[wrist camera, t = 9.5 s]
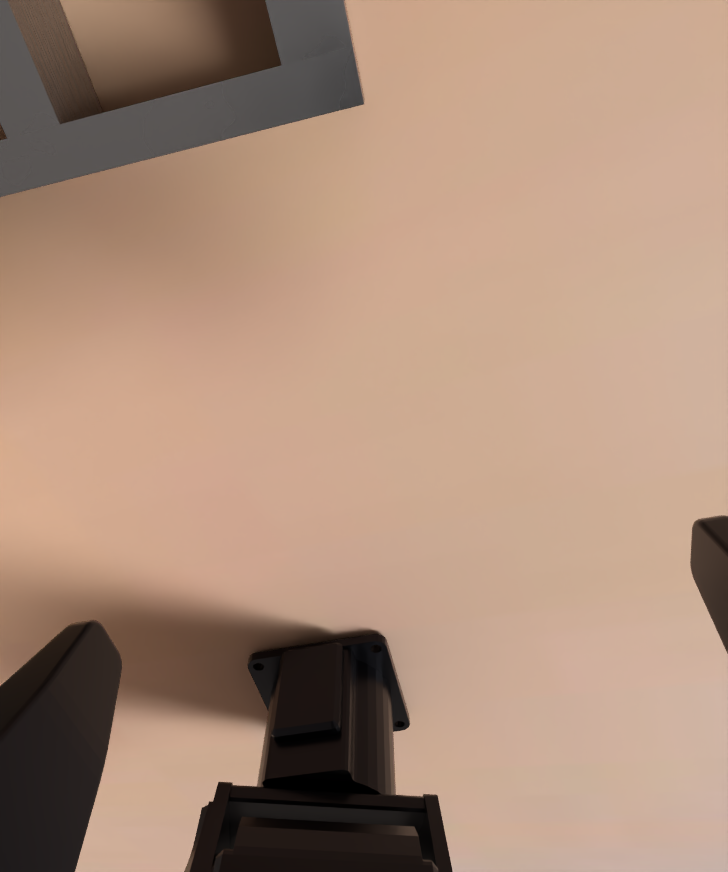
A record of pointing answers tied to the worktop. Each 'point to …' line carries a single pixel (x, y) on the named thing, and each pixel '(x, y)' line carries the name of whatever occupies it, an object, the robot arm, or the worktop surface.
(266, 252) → the worktop surface
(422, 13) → the worktop surface
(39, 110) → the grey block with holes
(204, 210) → the worktop surface
